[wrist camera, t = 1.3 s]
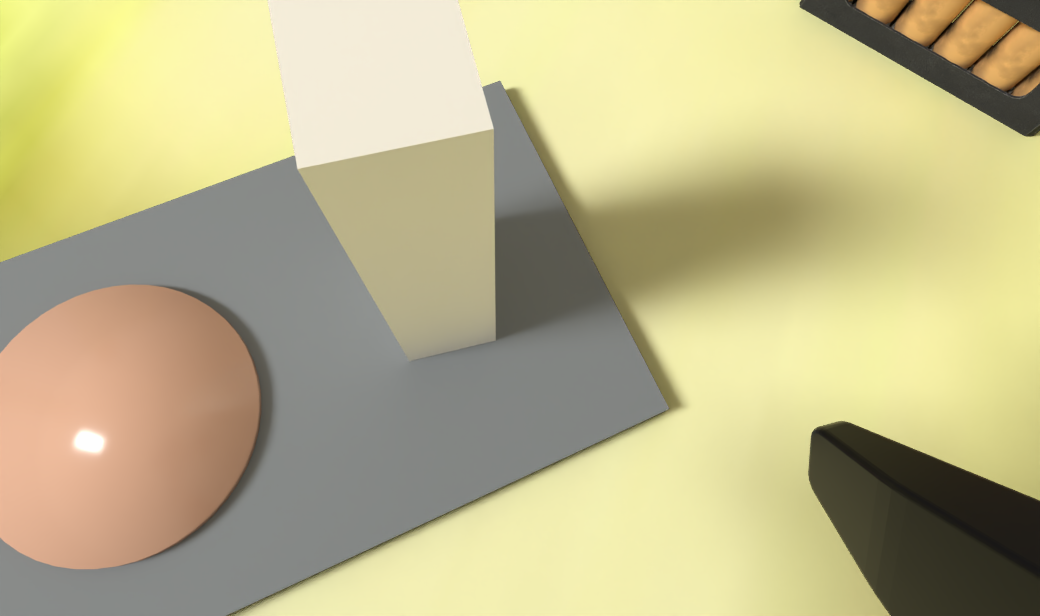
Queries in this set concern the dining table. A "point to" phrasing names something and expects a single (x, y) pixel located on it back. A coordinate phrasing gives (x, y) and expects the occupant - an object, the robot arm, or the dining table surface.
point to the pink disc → (121, 425)
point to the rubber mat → (344, 380)
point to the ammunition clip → (955, 48)
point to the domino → (397, 157)
